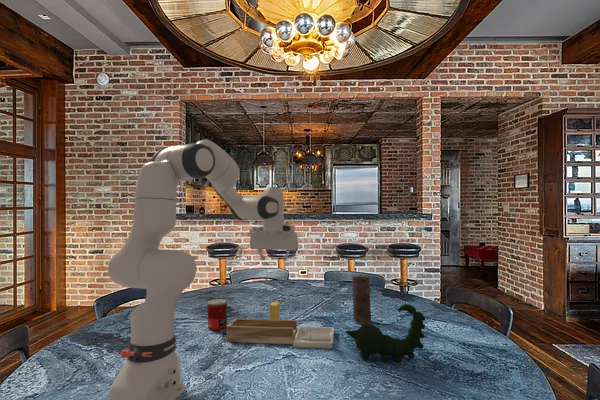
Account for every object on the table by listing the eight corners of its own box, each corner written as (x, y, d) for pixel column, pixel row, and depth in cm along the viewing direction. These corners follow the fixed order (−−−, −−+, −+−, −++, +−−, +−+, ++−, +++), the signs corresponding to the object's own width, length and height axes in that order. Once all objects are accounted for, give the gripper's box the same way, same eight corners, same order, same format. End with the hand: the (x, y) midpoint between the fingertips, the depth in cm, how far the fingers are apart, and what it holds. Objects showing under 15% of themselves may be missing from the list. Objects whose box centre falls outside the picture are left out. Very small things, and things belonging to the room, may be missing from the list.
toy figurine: (416, 357, 119) (342, 351, 120) (420, 302, 119) (346, 295, 120) (425, 371, 110) (345, 363, 111) (429, 310, 110) (349, 303, 111)
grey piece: (320, 340, 130) (320, 331, 130) (311, 340, 130) (310, 330, 130) (321, 337, 133) (320, 327, 133) (311, 336, 133) (311, 327, 134)
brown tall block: (350, 323, 149) (349, 276, 149) (356, 318, 155) (355, 273, 156) (368, 326, 145) (367, 277, 146) (373, 321, 152) (372, 274, 152)
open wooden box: (293, 344, 128) (292, 329, 128) (226, 341, 131) (226, 326, 131) (296, 334, 138) (296, 319, 138) (235, 331, 141) (235, 318, 141)
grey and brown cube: (320, 340, 130) (330, 340, 129) (320, 330, 130) (329, 331, 130) (321, 336, 133) (330, 337, 133) (320, 327, 133) (330, 327, 133)
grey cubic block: (310, 339, 131) (310, 330, 131) (301, 339, 131) (300, 330, 131) (311, 336, 134) (311, 327, 134) (302, 336, 134) (302, 326, 135)
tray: (332, 349, 123) (332, 343, 123) (293, 347, 125) (293, 341, 125) (334, 332, 139) (334, 327, 139) (299, 331, 141) (299, 326, 141)
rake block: (277, 330, 143) (276, 305, 143) (269, 329, 143) (269, 305, 143) (279, 325, 148) (279, 301, 148) (272, 325, 148) (272, 301, 148)
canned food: (222, 331, 142) (222, 304, 142) (204, 330, 143) (203, 303, 144) (230, 325, 149) (229, 299, 149) (212, 324, 151) (212, 298, 151)
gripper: (247, 227, 144) (247, 261, 144) (296, 227, 141) (297, 261, 141) (251, 226, 150) (251, 258, 150) (298, 226, 148) (299, 259, 147)
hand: (274, 260), depth 146 cm, fingers open, 8 cm apart
